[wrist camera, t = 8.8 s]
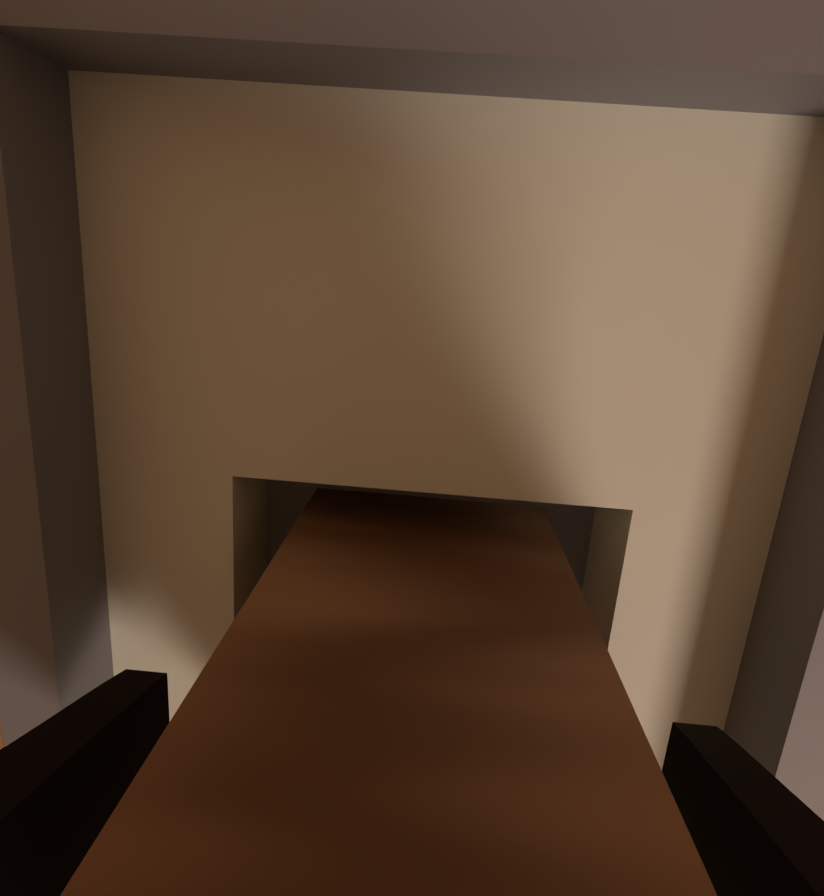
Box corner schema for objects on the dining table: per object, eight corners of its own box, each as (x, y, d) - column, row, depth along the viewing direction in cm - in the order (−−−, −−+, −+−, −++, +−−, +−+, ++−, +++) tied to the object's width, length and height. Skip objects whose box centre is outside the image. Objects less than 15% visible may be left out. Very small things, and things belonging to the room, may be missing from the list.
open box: (850, 98, 10) (1104, -19, 6) (643, 963, 15) (710, 1191, 11) (94, 51, 10) (-112, -86, 7) (149, 909, 16) (54, 1111, 12)
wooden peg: (544, 506, 12) (832, 1149, 3) (516, 701, 13) (666, 1559, 4) (317, 488, 12) (-34, 1046, 3) (311, 681, 13) (44, 1470, 4)
